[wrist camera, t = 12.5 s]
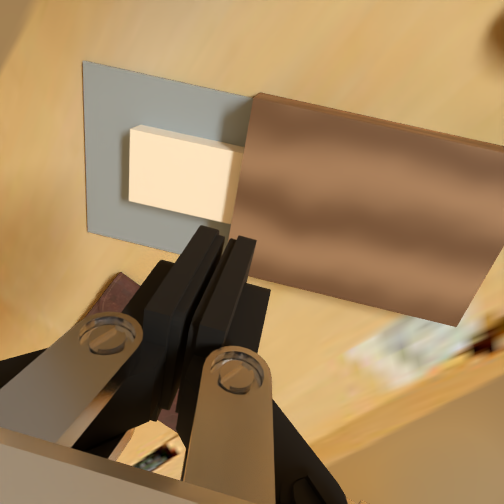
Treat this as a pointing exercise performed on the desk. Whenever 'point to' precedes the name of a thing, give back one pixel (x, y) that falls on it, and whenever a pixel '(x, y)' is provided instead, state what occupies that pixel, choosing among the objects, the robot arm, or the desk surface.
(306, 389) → the desk surface
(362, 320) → the desk surface
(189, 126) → the mat
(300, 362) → the desk surface
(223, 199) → the cream flat block
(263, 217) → the brown wooden board
